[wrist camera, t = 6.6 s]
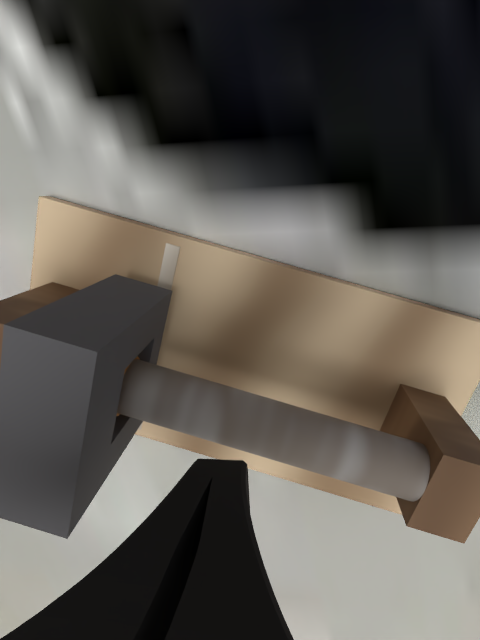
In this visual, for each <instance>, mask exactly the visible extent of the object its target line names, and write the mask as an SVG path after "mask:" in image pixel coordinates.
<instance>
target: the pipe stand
mask: <svg viewBox="0 0 480 640" xmlns="http://www.w3.org/2000/svg"><path fill="white" fill-rule="evenodd" d="M115 274H117V275H120V276H124V277H127V278H131V279H134V280H138V281H141V282H144V283H148V284H151V285H155V286H158V287H162V288H165V289H169V290H172V296H171V300H170V305H169V310H168V314H167V319H166V323H165V328H164V333H163V337H162V342H161V346H160V351H159V356H158V360H157V365H155V364H152V363H149V362H145V361H142V360H140V359H139V357H138V356H137V357H136V358H135V359H134V360H133V361H132V362H131V363H130V364H129V365H128V367H127V368H126V369H125V372H124V378H123V383H122V388H121V393H120V399H119V404H118V409H117V415H116V416H119V415H120V414H122V415H125V416H128V417H132V418H135V419H138V420H142V421H143V422H142V423H141V425H140V427H139V428H138V430H137V431H136V433H135V434H136V435H140V436H143V437H146V438H150V439H153V440H156V441H160V442H163V443H166V444H170V445H173V446H176V447H179V448H183V449H186V450H189V451H193V452H196V453H199V454H203V455H206V456H209V457H213V458H216V459H219V460H243V461H244V462H245V463H247V467H248V468H249V469H252V470H256V471H259V472H262V473H266V474H269V475H272V476H276V477H279V478H282V479H285V480H289V481H292V482H295V483H299V484H302V485H305V486H309V487H312V488H315V489H319V490H322V491H325V492H329V493H332V494H335V495H338V496H342V497H345V498H348V499H352V500H355V501H358V502H362V503H365V504H368V505H372V506H375V507H378V508H382V509H385V510H388V511H391V512H395V513H398V514H401V515H403V518H404V520H405V523H406V526H408V527H411V528H415V529H418V530H421V531H425V532H428V533H431V534H435V535H438V536H441V537H444V538H448V539H451V540H454V541H458V542H461V543H465V541H466V539H467V538H468V536H469V534H470V533H471V531H472V529H473V528H474V526H475V524H476V522H477V521H478V519H479V517H480V440H479V439H478V437H477V436H476V435H475V434H474V432H473V431H472V430H471V429H470V427H469V426H468V425H467V424H466V422H465V421H464V420H463V418H462V417H461V415H462V414H463V412H464V410H465V408H466V406H467V404H468V402H469V400H470V398H471V396H472V394H473V392H474V390H475V388H476V387H477V385H478V383H479V381H480V319H476V318H473V317H469V316H466V315H462V314H459V313H455V312H452V311H448V310H445V309H441V308H438V307H434V306H431V305H427V304H424V303H420V302H417V301H413V300H410V299H406V298H403V297H399V296H396V295H392V294H389V293H385V292H382V291H378V290H375V289H371V288H368V287H365V286H361V285H358V284H354V283H351V282H347V281H344V280H340V279H337V278H333V277H330V276H326V275H323V274H319V273H316V272H312V271H309V270H305V269H302V268H298V267H295V266H291V265H288V264H284V263H281V262H277V261H274V260H270V259H267V258H263V257H260V256H256V255H253V254H249V253H246V252H242V251H239V250H235V249H232V248H228V247H225V246H221V245H218V244H214V243H211V242H207V241H204V240H200V239H197V238H193V237H190V236H186V235H183V234H179V233H176V232H172V231H169V230H165V229H162V228H158V227H155V226H151V225H148V224H144V223H141V222H137V221H134V220H130V219H127V218H123V217H120V216H116V215H113V214H109V213H106V212H102V211H99V210H95V209H92V208H88V207H85V206H81V205H78V204H75V203H71V202H68V201H64V200H61V199H57V198H54V197H50V196H39V201H38V211H37V222H36V232H35V243H34V253H33V264H32V274H31V285H30V290H29V291H26V292H23V293H20V294H18V295H15V296H12V297H9V298H7V299H4V300H1V301H0V368H1V354H2V341H3V328H4V324H6V323H8V322H10V321H13V320H15V319H17V318H19V317H21V316H24V315H26V314H28V313H30V312H32V311H35V310H37V309H39V308H41V307H44V306H46V305H48V304H50V303H52V302H55V301H57V300H59V299H61V298H64V297H66V296H68V295H70V294H72V293H75V292H77V291H79V290H81V289H84V288H86V287H88V286H90V285H92V284H95V283H97V282H99V281H101V280H104V279H106V278H108V277H110V276H112V275H115Z"/></svg>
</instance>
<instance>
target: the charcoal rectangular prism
mask: <svg viewBox="0 0 480 640" xmlns="http://www.w3.org/2000/svg"><path fill="white" fill-rule="evenodd" d="M171 296H172V290H169V289H165V288H162V287H158V286H155V285H151V284H148V283H144V282H141V281H138V280H134V279H131V278H127V277H124V276H120V275H117V274H115V275H112V276H110V277H108V278H106V279H104V280H101V281H99V282H97V283H95V284H92V285H90V286H88V287H86V288H84V289H81V290H79V291H77V292H75V293H72V294H70V295H68V296H66V297H64V298H61V299H59V300H57V301H55V302H52V303H50V304H48V305H46V306H44V307H41V308H39V309H37V310H35V311H32V312H30V313H28V314H26V315H24V316H21V317H19V318H17V319H15V320H13V321H10V322H8V323H6V324H4V328H3V341H2V354H1V368H0V518H2V519H6V520H9V521H12V522H15V523H18V524H22V525H25V526H28V527H31V528H34V529H38V530H41V531H44V532H47V533H51V534H54V535H57V536H60V537H63V538H68V537H69V535H70V534H71V532H72V531H73V529H74V528H75V526H76V524H77V523H78V521H79V520H80V518H81V517H82V515H83V514H84V512H85V510H86V509H87V507H88V506H89V504H90V503H91V501H92V500H93V498H94V497H95V495H96V493H97V492H98V490H99V489H100V487H101V486H102V484H103V483H104V481H105V479H106V478H107V476H108V475H109V473H110V472H111V470H112V469H113V467H114V465H115V464H116V462H117V461H118V459H119V458H120V456H121V455H122V453H123V451H124V450H125V448H126V447H127V445H128V444H129V442H130V441H131V439H132V437H133V436H134V434H135V433H136V431H137V430H138V428H139V427H140V425H141V423H142V422H143V421H142V420H138V419H135V418H132V417H128V416H125V415H122V414H120V415H119V416H116V415H117V409H118V404H119V399H120V393H121V388H122V383H123V378H124V372H125V369H126V368H127V367H128V365H129V364H130V363H131V362H132V361H133V360H134V359H135V358H136V357H137V356H138V357H139V359H140V360H142V361H145V362H149V363H152V364H155V365H157V360H158V356H159V351H160V346H161V342H162V337H163V333H164V328H165V323H166V319H167V314H168V310H169V305H170V300H171Z"/></svg>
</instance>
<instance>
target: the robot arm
mask: <svg viewBox="0 0 480 640" xmlns="http://www.w3.org/2000/svg"><path fill="white" fill-rule="evenodd" d="M0 640H294V639H293V637H292V635H291V633H290V631H289V628H288V626H287V624H286V622H285V619H284V617H283V615H282V612H281V610H280V607H279V605H278V602H277V600H276V597H275V595H274V592H273V590H272V587H271V584H270V581H269V578H268V576H267V573H266V570H265V567H264V564H263V561H262V558H261V554H260V551H259V548H258V544H257V541H256V537H255V533H254V529H253V525H252V520H251V516H250V503H249V485H248V467H247V463H245V462H244V461H243V460H219V459H197V460H196V461H195V462H194V463H193V465H192V466H191V467H190V468H189V470H188V471H187V472H186V473H185V475H184V476H183V477H182V478H181V479H180V481H179V482H178V483H177V484H176V486H175V487H174V488H173V489H172V490H171V491H170V493H169V494H168V495H167V496H166V497H165V498H164V500H163V501H162V502H161V503H160V504H159V505H158V506H157V507H156V509H155V510H154V511H153V512H152V513H151V514H150V515H149V516H148V517H147V519H146V520H145V521H144V522H143V523H142V524H141V525H140V526H139V527H138V528H137V529H136V530H135V531H134V532H133V533H132V534H131V535H130V536H129V537H128V538H127V539H126V540H125V541H124V542H123V543H122V544H121V545H120V546H119V547H118V548H117V549H116V550H115V551H114V552H113V553H111V554H110V555H109V556H108V557H107V558H106V559H105V560H104V561H103V562H102V563H100V564H99V565H98V566H97V567H96V568H95V569H94V570H92V571H91V572H90V573H89V574H88V575H87V576H85V577H84V578H83V579H82V580H80V581H79V582H78V583H77V584H76V585H74V586H73V587H72V588H70V589H69V590H68V591H66V592H65V593H64V594H63V595H61V596H60V597H59V598H57V599H56V600H55V601H53V602H52V603H51V604H50V605H48V606H47V607H46V608H44V609H43V610H42V611H40V612H39V613H38V614H36V615H35V616H33V617H32V618H30V619H29V620H28V621H26V622H25V623H23V624H22V625H20V626H19V627H17V628H16V629H15V630H13V631H12V632H10V633H9V634H7V635H6V636H4V637H3V638H1V639H0Z"/></svg>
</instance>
